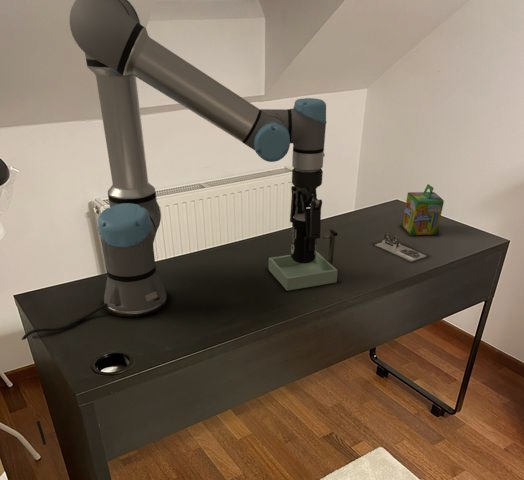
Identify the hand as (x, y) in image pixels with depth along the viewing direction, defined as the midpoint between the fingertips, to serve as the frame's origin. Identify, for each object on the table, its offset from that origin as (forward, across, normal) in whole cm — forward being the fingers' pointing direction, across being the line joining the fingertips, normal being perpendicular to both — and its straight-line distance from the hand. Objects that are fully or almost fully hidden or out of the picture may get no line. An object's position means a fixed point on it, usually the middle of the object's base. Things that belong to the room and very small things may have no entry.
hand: (303, 255), depth 142 cm
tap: (+6, 0, -8) cm, 10 cm away
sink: (+6, 0, 0) cm, 6 cm away
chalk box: (+6, +18, -50) cm, 54 cm away
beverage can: (+1, 0, 0) cm, 1 cm away
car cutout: (+7, +6, -35) cm, 37 cm away
